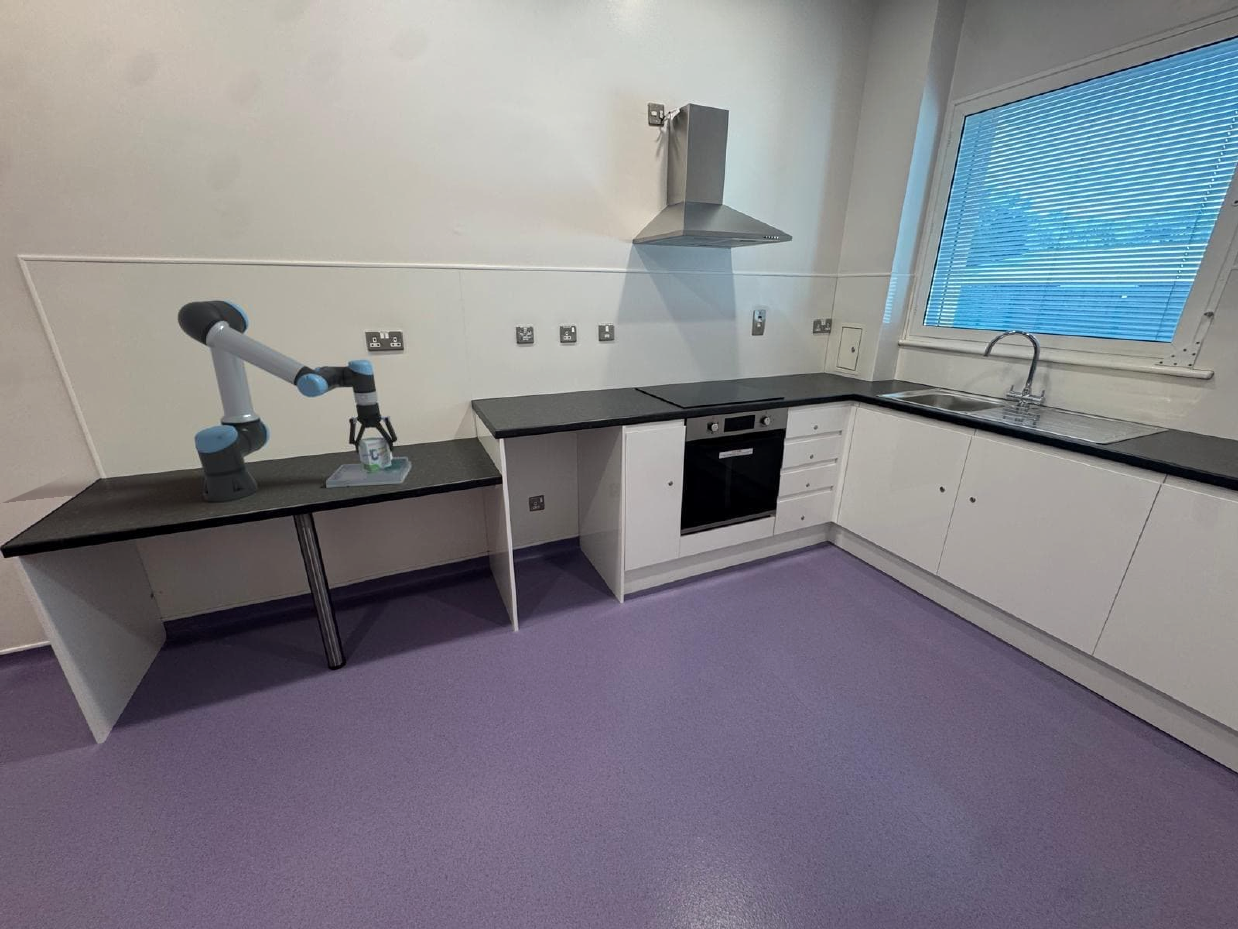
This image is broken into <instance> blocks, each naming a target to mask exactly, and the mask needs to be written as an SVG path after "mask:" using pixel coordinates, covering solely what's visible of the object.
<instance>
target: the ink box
mask: <svg viewBox="0 0 1238 929" xmlns="http://www.w3.org/2000/svg"><path fill="white" fill-rule="evenodd" d="M387 443H388V442H387V441H386V440H385V438H384V437H383V436H382V435H381V434H380V435H376V436H371V437H367V438H363V439H362V438H361V440H360V447H361V453H362V458H363V462H362V464H364V469H366V470H368V471H370V472H372V471H375V470H378V469H381V468H385V467H388V466H391V461H389V459H388V453H387V447H386V444H387Z"/></svg>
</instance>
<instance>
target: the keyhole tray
mask: <svg viewBox="0 0 1238 929" xmlns="http://www.w3.org/2000/svg"><path fill="white" fill-rule="evenodd" d="M392 457H393V458H392V460H391V466H388V467H385V468H381V469H378V470H375V471H372V472H370V471H368V470H366V469H364V464H363V463H350V464H349V463H347V464H346V463H345V464H341V465H340V466H339V467H338V468H337V469H336V470H335V471H334V472H333V473H332V474H331V475H330V476H329V478H327V479H326V481H325V485H326V488H327V489H328V488H329V489H330V488H331V489H332V488H344V487H347V486H349V487H363V486H364V487H365V486H377V485H378V486H379V485H381V486H382V485H395V484H396V485H397V484H398V485H399V484H403V482H404V481H405V479H406V478H407V476H408V474H409V472H410V471H411V469H412V467H413V466H412V461H411V460H409V457H408V456H392ZM347 488H348V487H347Z"/></svg>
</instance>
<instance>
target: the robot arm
mask: <svg viewBox="0 0 1238 929" xmlns="http://www.w3.org/2000/svg"><path fill="white" fill-rule="evenodd" d="M177 322H178V325H179V327H180V329H181V331H183V333H184V334H186V335H187V336H188V337H189V338H191V339H193V340H195V341H196V342H199V343H200V344H202V345H204V346H206V347H208V348H209V349H210V353H211V354H210V355H211V360H212V364H213V369H214V373H215V376H216V381H217V386H218V391H219V395H220V400H221V405H222V410H223V414H224V415H223V416H222V417H221V418H220V425H215V426H211V427H208V428H204V429H202V430H199V431H198V432H197V433H196V434H194V435H195V436H194V442H195V443H194V444H195V445H194V446H195V449H196V452H197V453H198V457H199V460H200V464H201V467H202V471H203V473H204V476H205V478H204V486H203V497H204V499H205V501H208V502H215V503H216V502H218V503H219V502H228V501H233V500H238V499H242V498H245V497H248V496H250V495H252V494H254V493H255V492H257V491H258V490H259V488H258V487H259V486H258V482H256V480H255V478H254V477H253V476H252V474H251V473H250V472H249V470H248V469H247V466H246V463H245V461H246V460H245V457H247V456H249V455H250V454H253V453H254V452H257V451H259V450H260V449H261V450H262V448H263V447H265V446H266V445H267V443H268V441H269V440H270V436H271V435H270V434H271V432H270V430H269V429H270V428H269V427H268V426H267V424H265V423H264V421H263V420H261V416H260V415H259V414H257V413H256V412H255V410H254V407H253V400H252V397H251V391H250V387H249V382H248V377H247V370H246V367H245V366H246V365H245V362H246V363H249V364H250V365H253V366H255V367H256V368H259V370H260V369H261V370H263V371H265V372H267V373H268V374H270V375H273V376H275V377H277V378H279V379H281V380H282V381H285V382H287V383H289V384H290V385H293V386H295V387H297V390H298V391H299V392H300V394H302V395H303V396H304V397H306V398H316V397H320V396H323V395H325V394H326V393H328V392H330V391H333V390H335V389H338V388H351V389H352V391H353V395H354V402H355V407H356V413H357V417H351V418H350V419H349V420H348V423H349V425H350V428H349V437H348V438H349V440H348V444H350V445H354V446H355V451H356V453H357V454H359V459H360V463H363V458H362V453H361V447H360V440H362V438H363V436H364V433H365V431H366V429H369V428H372V429H373V428H375V429H376V430H378V432H379V433H380V435H381V436H383V437H384V438H385V440H386V441H387V442H388V443H387V444H386V447H387V453H388V459H389V461H391V460H392V458H393V457H394V456H393V453H392V452H394V450H395V449H394V448H395V447H394V443H396V442H397V441H398V437H397V434H396V432H395V429H394V427H393V425H392V422H391V417H390V416H389V415H387V416H382V415H381V412H380V404H379V403H378V401H379V399H378V394H377V388H376V381H375V373H374V369H373V365H372V362H371V361H370V360H367V359H354V360H350V361H348V363H347V364H348V365H346V366H331V365H330V366H329V365H324V366H317V367H315V368H314V369H313V368H311V367H309V366H307V365H306V364H303V363H301V362H300V361H297V360H296V359H293V358H292V357H290V356H287V355H285V354H283V353H281V352H279V351H277V350H275V349H273V348H271V347H269V346H268V345H265V343H264V344H263V343H262V342H260V341H258V340H255V339H254V338H252V337H250V336H247V335H246V334H245V332H246V331H247V329H248V327H249V318H248V316H247V314H246V313H245V311H244V310H243V309H242V308H241V307H240V306H238V305H237V304H236V303H234V302H232V301H227V300H219V299H218V300H214V299H213V300H206V301H205V300H202V301H192V302H191V301H190V302H188V303H185V304H184V305H183V306H181V308H180V309H179V310H178V313H177ZM381 421H383V423H384V424H385V426H386V429H387V431H388V432H387V431H386V429H385V428H384V427H383V425H382V423H381ZM357 423H360V424H361V425H360V428H359V431H358V433H357V436H356V428H357V427H356V426H357Z"/></svg>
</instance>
